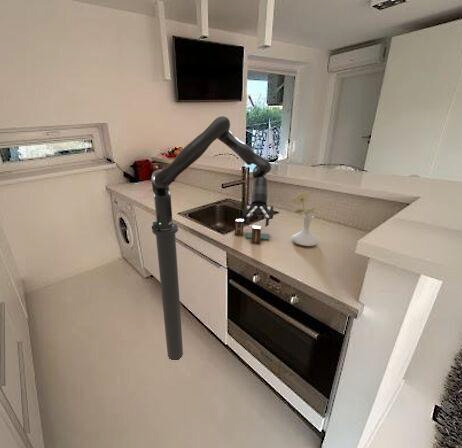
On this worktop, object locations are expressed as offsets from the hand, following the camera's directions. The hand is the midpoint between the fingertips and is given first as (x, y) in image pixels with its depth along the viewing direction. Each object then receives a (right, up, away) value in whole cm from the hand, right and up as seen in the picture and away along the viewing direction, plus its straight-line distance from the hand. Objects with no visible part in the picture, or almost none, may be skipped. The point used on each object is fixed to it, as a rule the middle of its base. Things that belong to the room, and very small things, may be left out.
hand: (257, 225), depth 119 cm
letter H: (-7, -5, +10) cm, 13 cm away
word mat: (+2, -6, +6) cm, 9 cm away
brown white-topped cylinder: (-1, -8, 0) cm, 8 cm away
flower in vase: (+21, -9, -2) cm, 23 cm away
